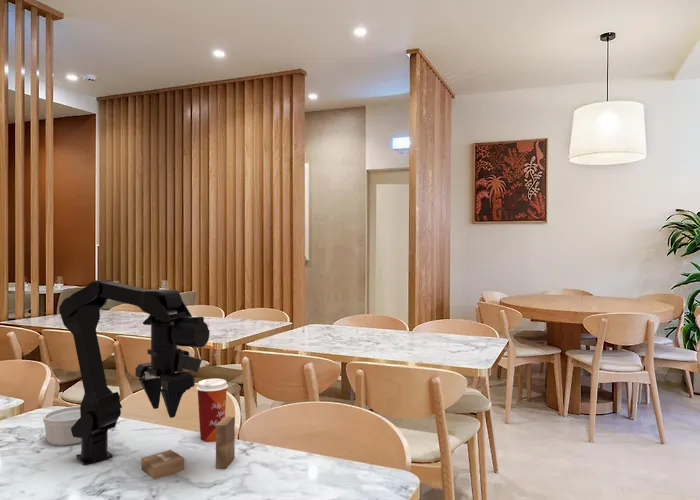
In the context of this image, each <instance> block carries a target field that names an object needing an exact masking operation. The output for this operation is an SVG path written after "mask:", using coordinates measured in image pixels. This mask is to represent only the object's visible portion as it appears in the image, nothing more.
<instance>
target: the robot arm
mask: <svg viewBox="0 0 700 500" xmlns="http://www.w3.org/2000/svg"><path fill="white" fill-rule="evenodd" d="M108 300H110V301H114V302H118V303H119V302H120V303H123V304H128V305H133V306H135V307H138V308H140V310H141V311H142V312H144V313H146V314H147V315H149V316H148V317H147V318H146V319H145V320H143V321H142V325H144V326H150V348H149V349H148V348H147V354H148V355H149V356H150V362H145V363H139V364H138V365H137V366H136V367H135V377H136V378H138V379H137V381H138V382H139V383H140V385H141V386H142V388H143V390H144V393H145V394H146V396H147V399H148V401H149V403H150V404H151V406H152V408H153V410H157V409H159V407H160V402H161V401H160V399H161V396H162V399H163V402H164V405H165V408H166V412H167V414H168V417H169V418H170V419H172V418H175V417H176V414H177V412H178V408H179V406H180V403H181V400H182V397H183V395H184V393H185V392H187V391H189V390H191V388H194V387H195V386H196V378H195V376H194V375H193V374H191V373H190V372H187V371H192V372H193V373H199V371H200V370H199V369H200V367H201V364H202V361H203V359H201V358H199V357H194V356H192V355H190V352H189V351H187V350H183V349H181V348H178V347H190V348H203V347H205V346H206V345H207V343H208V342H209V339H210V329H209V326H208V324H207V323H206V321H205V320H204V319H205V317H204V316H200V315H199V316H192V313H191V311H190V310H189V309H188V307H187V305H186V304H185V302H184V300H183V298H182V296H181V294H180V291H178V290H176V289H171V288H168V289H167V288H165V289H163V288H162V289H161V288H159V289H158V288H157V289H148V288H142V287H138V286H134V285H129V284H126V283H125V284H124V283H121V282H120V283H119V282H115V281H112V280H110V279H98V280H96V279H95V280H92V281H91V282H90V283H88V285H87V286H85V287H84V288H82V289H80V290H78V291H76V292H74V293H72V294H71V295H70V296H69V297H66V298H64V299H63V301H62V302H61V304H60V305H59V309H58V310H59V316H60V318H61V321H62V324H63V326H64V327H65V328H66V329H67V330H68V331H69V332H70V334H72V336H73V340H74V346H75V347H74V348H75V351H76V355H77V362H78V365H79V366H78V367H79V372H80V376H81V380H82V381H81V382H82V387H83V393H84V394H83V397H82V400H81V403H80V405H79V406H80V415H81V417H80V418H79V420H78V421H77V422H76V423H75V424H74V425H73V426H72V427H71V432H72V435H73V437H77V438H81V443H80V448H81V449H80V451H81V452H80V453H79V454H76V455H75V456H76V457H75V458H76V459H77V460H78V461H79V462H80V463H81V464H82V465H84V466H85V465H90V464H94V463H96V462H97V463H98V462H101V461H104V460H107V459H111V458H113V457H114V456H113V454H112V453H111V452H110V451H109V450H108V449H109V448H108V447H109V446H108V441H109V439H108V438H109V437H108V436H109V435H108V434H109V432H108V431H109V430H111V429H114V428H116V425H117V423H118V420H119V417H121V414H122V412H121V411H122V410H121V409H122V408H123V405H122V404H121V401H120V394H119V392H118V391H115V392H113V391H112V390H111V389H110V388H109V387H108V385H107V378H106V374H105V369H104V365H103V364H104V363H103V359H102V354H101V353H102V352H101V349H100V344H99V338H98V334H97V327H98V324H99V321H100V319H101V313H100V310H101V309H102V308H103V307H104V306H105V305H107V302H108ZM184 370H186V371H184Z"/></svg>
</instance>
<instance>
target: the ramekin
mask: <svg viewBox="0 0 700 500" xmlns="http://www.w3.org/2000/svg"><path fill="white" fill-rule="evenodd" d="M80 417H81V415H80V405H73V406H67V407H62V408H59V409H55V410H51V411H49V412H47V413H46V414H44V416H43V423H44V430H45V436H46V437H45V438H46V440H47V442H49V444H50V445H53V446H71V445H77V444H81V438H77V437H73V435H72V432H71V427H72V426H73V425H74V424H75V423H76V422H77V421H78V420H79V418H80Z"/></svg>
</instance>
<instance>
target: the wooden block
mask: <svg viewBox="0 0 700 500" xmlns="http://www.w3.org/2000/svg"><path fill="white" fill-rule="evenodd" d="M235 423H236V419H235V416H225V417H224V418H223V419H222V420H221V421H220V422H219V423H218V424H217V425H216V441H215V469H217V470H227V469H228V468H229V466H231V464H232V463H233V462H234V460H235V458H236V457H235V455H236V452H235V447H236V444H235V439H236V437H235V436H236V435H235V433H236V432H235V431H236V429H235V427H236V425H235Z"/></svg>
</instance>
